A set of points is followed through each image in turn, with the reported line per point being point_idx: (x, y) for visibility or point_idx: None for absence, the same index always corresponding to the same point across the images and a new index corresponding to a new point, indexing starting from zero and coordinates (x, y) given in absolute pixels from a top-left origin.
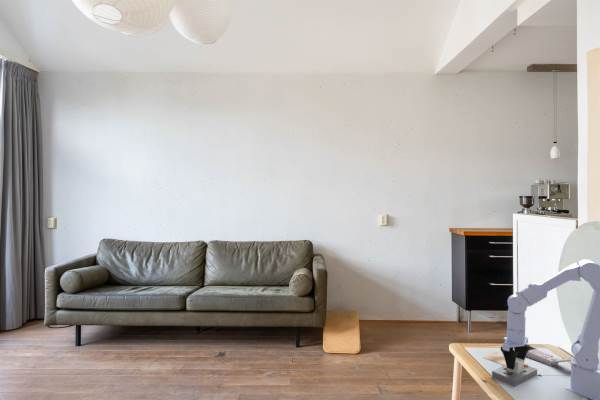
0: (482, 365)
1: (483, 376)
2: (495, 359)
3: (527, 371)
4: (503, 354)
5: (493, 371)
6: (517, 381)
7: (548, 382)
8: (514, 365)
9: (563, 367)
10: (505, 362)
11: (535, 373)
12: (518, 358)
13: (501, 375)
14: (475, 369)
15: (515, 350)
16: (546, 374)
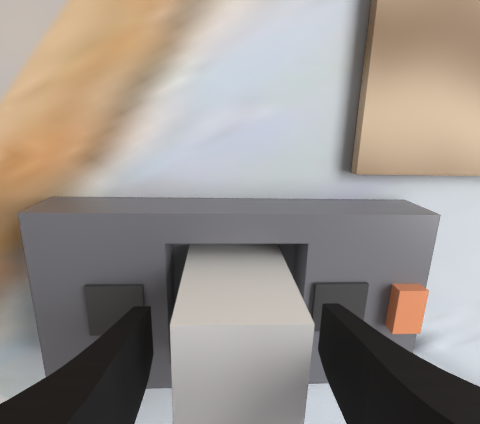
0: (216, 7)
1: (10, 140)
2: (430, 28)
3: None
4: (14, 402)
5: (23, 223)
6: None
7: (338, 411)
8: (141, 395)
9: None
10: (428, 124)
11: None
12: (294, 393)
13: (34, 291)
14: (67, 14)
15: (394, 388)
16: (453, 362)
